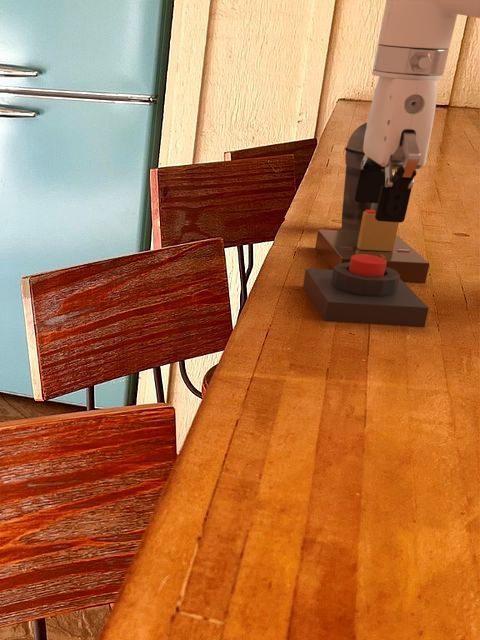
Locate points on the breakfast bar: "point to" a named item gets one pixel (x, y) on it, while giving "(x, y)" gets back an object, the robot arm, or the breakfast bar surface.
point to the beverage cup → (354, 182)
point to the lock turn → (376, 233)
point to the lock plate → (344, 245)
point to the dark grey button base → (364, 297)
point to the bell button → (367, 265)
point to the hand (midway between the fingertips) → (377, 211)
